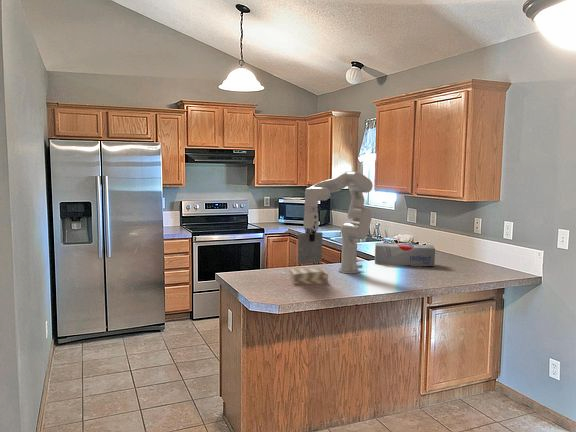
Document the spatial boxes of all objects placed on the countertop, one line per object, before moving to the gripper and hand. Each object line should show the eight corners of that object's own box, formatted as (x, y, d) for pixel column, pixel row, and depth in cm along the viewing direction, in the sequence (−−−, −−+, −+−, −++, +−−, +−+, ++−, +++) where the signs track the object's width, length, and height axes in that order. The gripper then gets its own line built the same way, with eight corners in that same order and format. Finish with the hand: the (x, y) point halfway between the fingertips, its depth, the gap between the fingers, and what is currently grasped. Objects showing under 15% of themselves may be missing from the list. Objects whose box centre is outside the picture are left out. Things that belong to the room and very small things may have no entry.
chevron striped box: (323, 278, 286) (323, 268, 286) (327, 284, 273) (328, 273, 272) (290, 278, 284) (290, 268, 283) (293, 284, 270) (293, 274, 269)
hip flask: (299, 264, 272) (300, 229, 270) (295, 263, 275) (296, 228, 273) (322, 262, 279) (323, 228, 277) (318, 260, 283) (320, 227, 281)
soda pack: (432, 264, 337) (433, 245, 335) (434, 268, 324) (436, 248, 323) (374, 260, 344) (375, 241, 342) (374, 264, 331) (375, 244, 329)
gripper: (324, 210, 268) (323, 242, 270) (309, 207, 283) (308, 238, 285) (312, 210, 265) (311, 243, 267) (298, 208, 279) (297, 238, 281)
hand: (310, 240), depth 276 cm, fingers closed on hip flask, 3 cm apart
